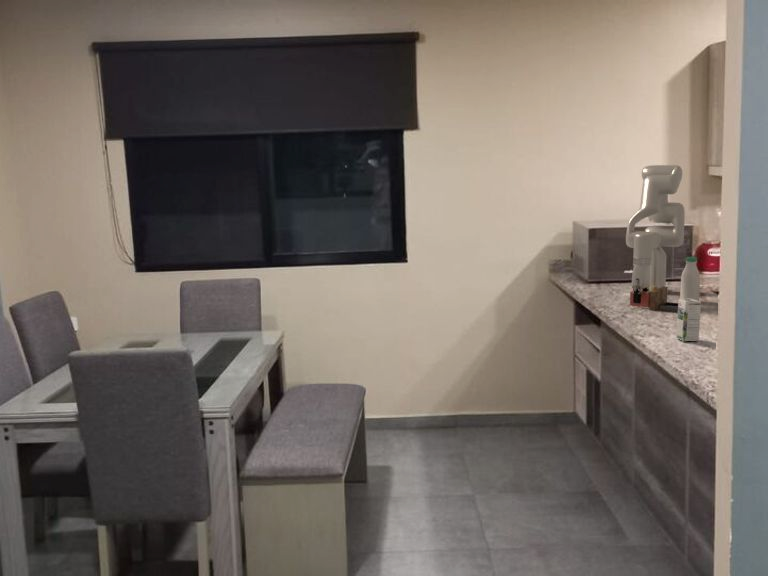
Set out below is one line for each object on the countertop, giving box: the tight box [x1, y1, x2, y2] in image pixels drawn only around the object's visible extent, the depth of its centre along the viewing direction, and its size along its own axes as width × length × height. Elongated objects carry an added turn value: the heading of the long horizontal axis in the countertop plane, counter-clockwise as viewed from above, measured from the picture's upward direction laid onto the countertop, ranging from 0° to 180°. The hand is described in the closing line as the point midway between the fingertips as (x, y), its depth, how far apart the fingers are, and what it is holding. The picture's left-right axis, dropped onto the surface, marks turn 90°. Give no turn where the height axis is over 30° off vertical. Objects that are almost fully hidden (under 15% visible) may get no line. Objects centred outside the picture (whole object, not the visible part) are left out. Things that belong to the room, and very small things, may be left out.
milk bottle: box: [679, 256, 701, 301], centre depth 331 cm, size 8×8×20 cm
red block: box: [629, 290, 651, 308], centre depth 327 cm, size 4×8×7 cm, turn 51°
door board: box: [649, 286, 669, 312], centre depth 321 cm, size 15×2×10 cm, turn 141°
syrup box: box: [675, 298, 702, 342], centre depth 264 cm, size 6×6×14 cm
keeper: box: [657, 301, 679, 313], centre depth 317 cm, size 9×12×2 cm
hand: (640, 301), depth 327 cm, fingers open, 8 cm apart
